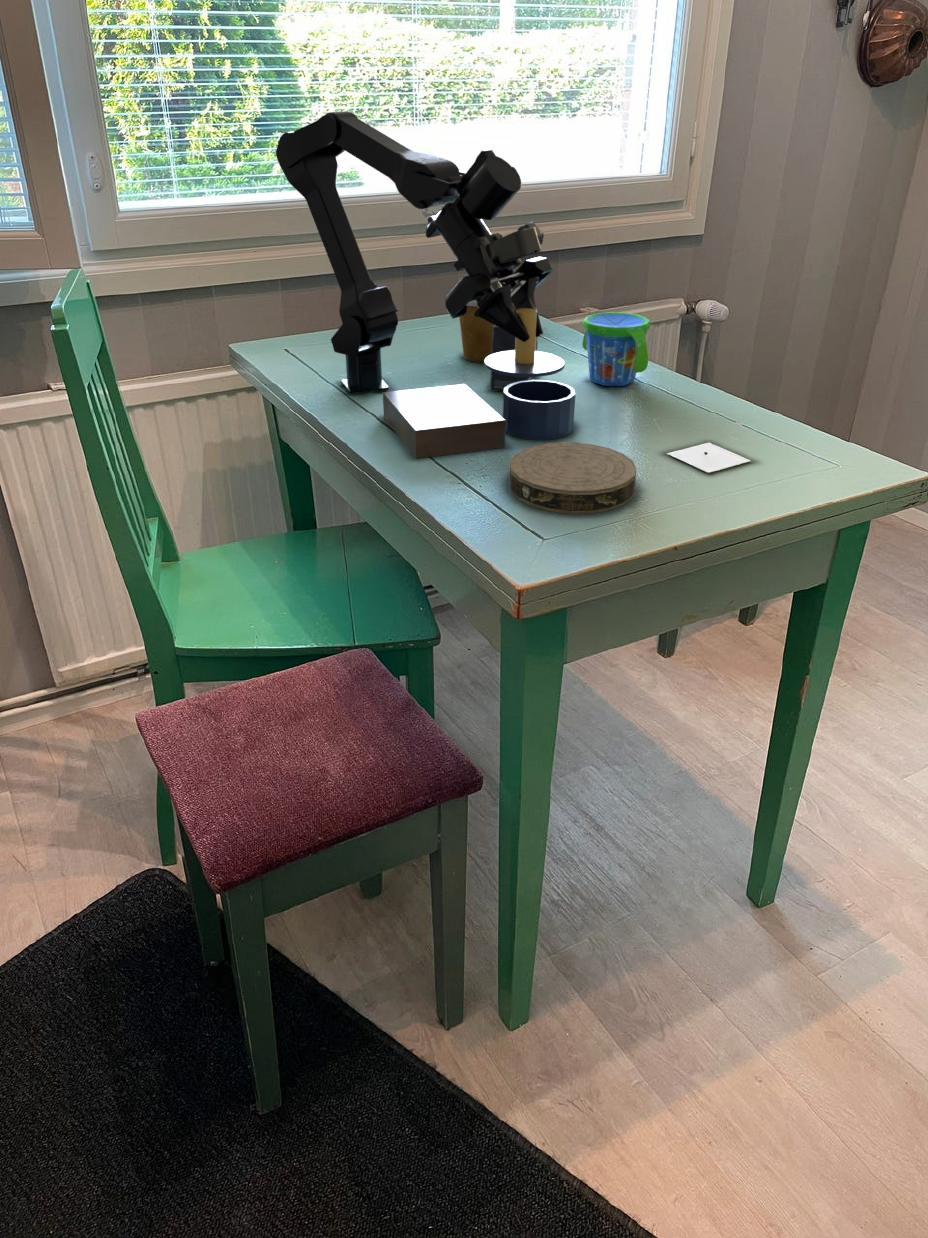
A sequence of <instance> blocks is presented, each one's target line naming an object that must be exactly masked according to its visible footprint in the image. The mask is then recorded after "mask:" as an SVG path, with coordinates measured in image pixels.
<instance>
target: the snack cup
mask: <svg viewBox="0 0 928 1238" xmlns="http://www.w3.org/2000/svg"><path fill="white" fill-rule="evenodd" d="M582 327H583V330H584V334H583V338H582V348H583V349H584V350H585V351H587V364H588V365H587V366H588V373H589V374H588V376H589V380H590V381H592V382H593V383H594V384H599V385H602V386H607V387H621V386H622V387H624V386H627V385H630V384H631V383H633V382H634V381H635V380H636V377H637V374H638V373H643V372H644V371H646V370H647V368H648V365H649V355H648V343H647V337H646V335H647V334H648V332H649V330H650V328H651V322H650V320H649V319H648V317H646V316H644V315H639V314H636V313H629V312H617V311H616V312H599V313H594V314H590V315H587V316H586V317H585V318H584V320H583V321H582Z"/></svg>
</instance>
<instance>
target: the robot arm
mask: <svg viewBox="0 0 928 1238" xmlns="http://www.w3.org/2000/svg"><path fill="white" fill-rule="evenodd" d="M345 152H347V153H348V154H350V155H352V156H353V157H354V158H356V159H358V160H360V161H361V162H363V163H364V164H366V165H368V166H369V167H371V168H372V169H374V170H376V171H377V172H379V173H381V174H382V175H384V176H385V177H387V178H389V180H390V181H392V183H394V185H395V187H396V189H397V191H398V193H399V194H400V195H401V196H402V197H403V198H405V200H406V201H407V202H408V203H409V204H411V205H412V206H413V207H414V208H416V209H419V210H426V209H432V208H437V207H442V208H441V209H440V210H439V212H438V213H437V214H436V215H430V216H428V217H427V226H426V229H425V237H426V238H428V239H431V238H436V237H440V236H441V237H442V238H443V240H444V241H445V243H446V244H447V246H448V248H449V249H450V251H451V253H452V254H453V255H454V257H455V259H456V262H455V263H454V264H453V267H454V268H455V270H456V272H459V271H463V270H464V272H465V273H466V276H463V277H462V278H461V279H460V280H459V281H458V283H456V285H455V286H454V287H453V288H452V289H451V290H450V292H449V293H448V294H447V295H446V296H445V297H444V308H445V310H446V311H447V313H448V314H449V316H450V317H451V319H453V320H454V319H457V318H459V317H460V316H463V315H465V314H466V313H467V306H466V305H467V304H468V303H469V302H470V301H474V300H476V301H477V306H478V307H479V309H478V310H477V311H476V312H475V313H474V316H475V317H480V318H482V319H484V320H486V321H488V322H490V323H492V324H494V325H496V326H498V327H499V328H501V329H503V330H505V331H506V332H508V333H510V334H511V335H513V336H515V337H516V338H518V339H520V340H521V341H523V342H526V341H527V340H528V339H529V338H530V336H529V334H528V331H527V329H526V327H525V325H524V324H523V322H522V320H521V318H520V316H519V315H518V313H517V310H518V309H521V308H530V309H535V310H537V320H536V337H538V338H540V336H542V335H543V332H544V330H543V328H542V324H541V320H540V315H539V316H538V314H539V313H538V308H537V304H536V300H535V291H536V289H537V288H538V287H539V285H541V284H542V283H543V282H544V281H545V280H546V279H547V278H548V277H549V276H550V275H551V274H552V273H553V272H554V271H555V267H553V265H552V264H551V262H550V261H549V259H548V258H547V257H543V256H537V257H533V258H530V259H526V260H525V261H523V262H522V258H524V257H527V256H529V255H531V254H538V253H540V252H542V247H541V246H542V244H543V242H544V237H545V234H544V233H543V231H542V230H540V228H539V226H538V225H536V223H535V222H534V221H530V222H526V223H525V224H524V225H520V226H518V227H517V230H515V231H513V232H511V233H509V234H507V235H504V236H503V235H502V234H500V233H499V232H497V233H491V232H490V229H489V228H488V226H487V225H486V224H485V222H484V220H486V221H493V220H495V219H496V218H497V217H498V215H500V213H501V212H502V211H503V209H504V208H505V207H506V206H507V205H508V204H509V203H510V201H511V200H512V199H514V197H515V195H516V194H517V193H518V192H519V191H520V190H521V188H522V179H521V176H520V174H519V172H518V170H517V169H516V168H515V167H514V166H512V165H511V164H510V163H509V162H507V160H505V159H503V158H502V157H499V156H497V155H496V154H495V152H494V151H493V149H484V150H481V151H480V152H479V153H478V154H477V156H476V158H475V159H474V162H473V163H472V165H471V166H470V167H469V168H468V170H467V171H463V170H460V169H459V167H458V166H457V164H455V163H454V162H453V161H451V160H449V159H447V158H443V157H440V156H437V155H433V154H428V153H423V152H418V151H415V150H412V149H410V148H408V147H406V146H404V144H401V143H400V142H398V141H396V140H395V139H393V138H392V137H390V136H389V135H386V134H384V133H383V132H382V131H380V130H378V129H376V128H375V127H373V126H371V125H370V124H368V123H366V122H364V121H363V120H362V119H359V118H358V116H357V115H356V114H355V113H353V112H352V111H348V110H346V111H331V112H327V113H325V114H324V115H322V116H321V117H319V118H318V119H317V120H315V121H313V122H311V123H309V124H306V125H304V126H303V127H300V128H298V129H295V130H294V131H287V132H284V133H283V134H282V135H280V137H279V139H278V142H277V146H276V149H275V154H276V159H277V162H278V165H279V167H280V169H281V171H282V172H283V174H284V176H285V178H286V180H287V182H288V183H289V185H291V186H292V188H294V189H295V190H296V191H297V192H298V193H299V195H301V196H302V197H303V198H304V199H305V201H306V204H307V206H308V208H309V211H310V214H311V216H312V219H313V221H314V223H315V227H316V230H317V232H318V234H319V237H320V239H321V243H322V245H323V247H324V251H325V252H326V255H327V257H328V260H329V263H330V266H331V268H332V270H333V273H334V276H335V278H336V281H337V284H338V286H339V288H340V300H339V307H338V308H339V309H338V311H339V316H340V321H341V323H342V324H341V326H340V327H339V328H338V329H337V331H336V332H335V333H334V334H333V335H332V336H331V338H330V341H331V342H330V343H331V345H332V348H333V351H334V353H337V354H341V355H344V356H345V369H346V370H345V372H346V378H343V379H341V384H342V385H343V386H344V388H345V389H346V390H347V393H349V394H361V393H371V392H378V391H379V392H382V391H388V390H389V385H388V384H387V383H386V382H385V381H384V379H383V372H382V371H383V370H382V349H383V348H386V347H390V346H391V345H392V343H393V338H394V335H395V333H396V330H397V328H398V327H397V326H398V325H399V320H398V319H399V317H398V315H397V313H398V312H399V309H398V307H397V306H396V305H395V303H394V300H393V297H392V296H393V295H392V292H391V290H390V289H389V287H388V286H387V285H384V286H381V287H380V286H378V285H377V284H376V283H375V282H374V281H373V279H372V278H371V276H370V273H369V271H368V268H367V266H366V263H365V261H364V258H363V254H362V252H361V250H360V247H359V245H358V242H357V240H356V236H355V234H354V230H353V229H352V226H351V223H350V220H349V218H348V214H347V212H346V211H345V208H344V205H343V202H342V199H341V197H340V194H339V192H338V189H337V188H338V187H337V180H338V171H339V165H338V161H337V157H339V156H340V155H342V154H343V153H345ZM516 268H517V269H516ZM515 269H516V270H515ZM514 270H515V271H514Z"/></svg>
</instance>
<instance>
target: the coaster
mask: <svg viewBox="0 0 928 1238" xmlns="http://www.w3.org/2000/svg"><path fill="white" fill-rule="evenodd" d="M666 454H667V455H669V456H671V457H673V458H676V459H678V460H680V461H682V462H684V463H686V464H689V465H691V466H693V467H695V468H697V469H699V470H701V471H704V472H706V473H713V472H716V471H720V470H724V469H728V468H732V467H734V466H738V465H742V464H746V463H749V462H751V461H752V460H750V459H748V458H746V457H743V456H742V455H739V454H737V453H735V452H732V451H729V450H728V449H725V448H723V447H721V446H718V445H716V444H713V443H711V442H705V443H701V444H697V445H693V446H690V447H686V448H682V449H679V450H678V449H677V450H675V451H671V452H667V453H666Z"/></svg>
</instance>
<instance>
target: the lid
mask: <svg viewBox="0 0 928 1238" xmlns="http://www.w3.org/2000/svg"><path fill="white" fill-rule="evenodd" d="M537 312H538V309H537V310H535V309H530V308H521V309H518V310H517V313H518V315H519V316H520V318H521V320H522V322H523V324H524V325H525V327H526V329H527V331H528V334H529V336H530V338H529V339H528V340H527V341H526V342H523V341H521V340H520V339H518V338H515V350H511V351H503V352H498V353H494V354H491V355H489V356H488V357H486V358H485V361H484V362H483V364H484V367H485V368H486V369H487V370H489V371H490V372H491V371H493V372H495V373H499V374H503V375H508V376H514V377H534V378H539V377H545V376H551V375H555V374H557V373H560V372H562V371H563V370H564V369H565V366H566V365H565V360H564V359H563V358H561V357H560V356H558V355H555V354H553V353H549V352H545V351H539V350H537V351H535V340H536V320H537Z"/></svg>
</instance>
